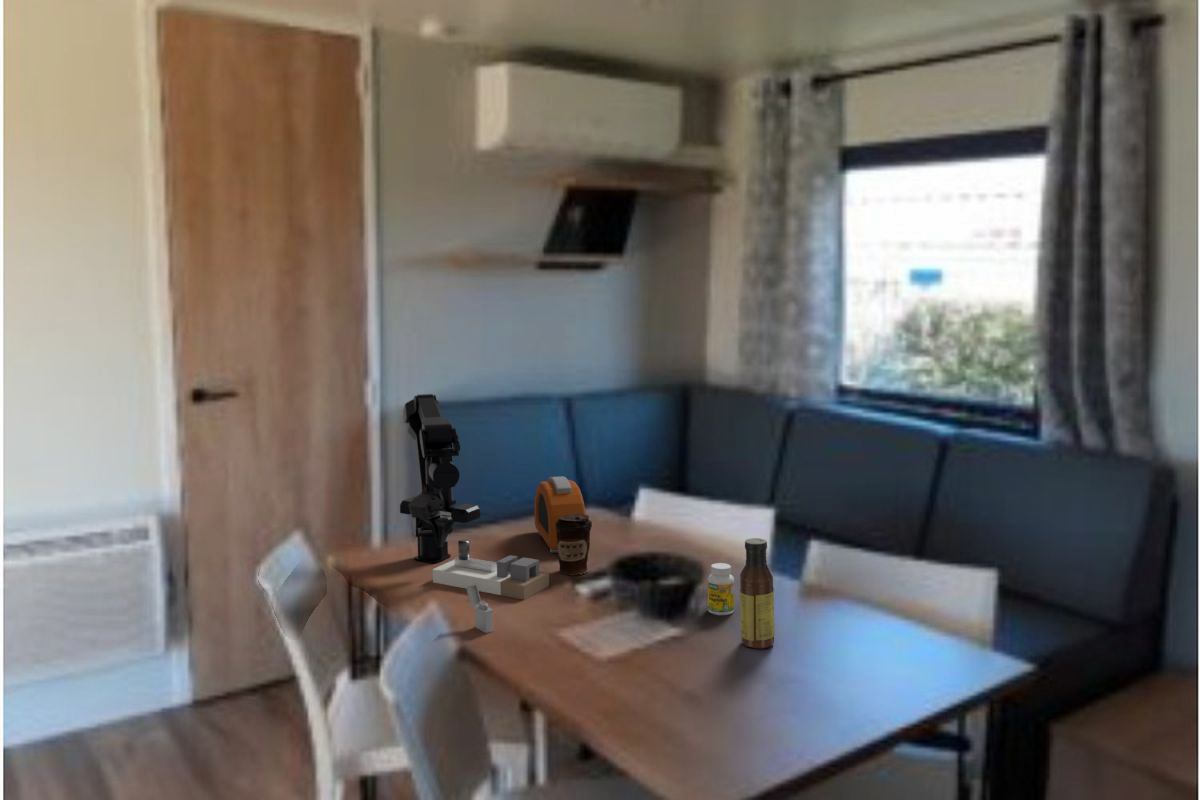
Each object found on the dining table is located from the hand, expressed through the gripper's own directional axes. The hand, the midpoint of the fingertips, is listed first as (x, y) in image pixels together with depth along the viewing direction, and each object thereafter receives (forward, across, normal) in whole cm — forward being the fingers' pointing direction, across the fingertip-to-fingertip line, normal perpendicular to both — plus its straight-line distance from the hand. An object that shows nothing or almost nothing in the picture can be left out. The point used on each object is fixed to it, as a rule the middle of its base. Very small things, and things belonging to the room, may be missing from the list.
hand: (440, 546), depth 227 cm
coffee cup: (+7, +26, +16) cm, 31 cm away
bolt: (+3, +10, 0) cm, 10 cm away
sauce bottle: (+7, +77, -5) cm, 77 cm away
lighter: (+7, +26, -22) cm, 35 cm away
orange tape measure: (+7, +10, +35) cm, 37 cm away
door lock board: (+7, +14, 0) cm, 15 cm away
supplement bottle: (+7, +65, +8) cm, 65 cm away
